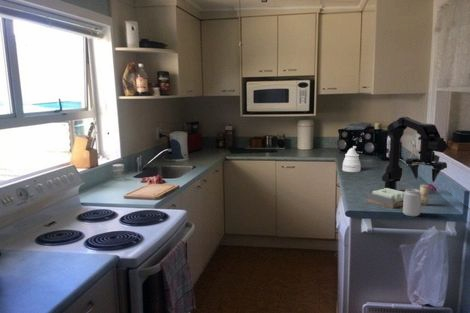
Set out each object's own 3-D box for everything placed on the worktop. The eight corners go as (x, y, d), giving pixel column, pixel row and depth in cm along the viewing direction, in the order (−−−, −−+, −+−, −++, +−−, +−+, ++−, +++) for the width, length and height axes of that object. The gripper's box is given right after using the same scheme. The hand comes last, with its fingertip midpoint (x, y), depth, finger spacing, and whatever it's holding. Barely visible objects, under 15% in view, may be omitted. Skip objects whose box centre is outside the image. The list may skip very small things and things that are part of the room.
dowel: (422, 203, 195) (423, 184, 194) (429, 204, 192) (430, 185, 190) (417, 204, 193) (418, 185, 192) (424, 206, 190) (425, 186, 188)
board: (390, 195, 211) (390, 187, 211) (416, 201, 198) (417, 193, 197) (366, 201, 201) (366, 192, 200) (392, 208, 188) (392, 199, 187)
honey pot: (358, 168, 286) (358, 145, 283) (362, 171, 273) (362, 147, 270) (341, 168, 287) (341, 145, 284) (344, 172, 275) (344, 147, 272)
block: (386, 195, 206) (386, 187, 205) (405, 199, 196) (405, 192, 196) (372, 198, 200) (372, 191, 199) (391, 203, 190) (391, 195, 190)
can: (415, 211, 182) (416, 187, 180) (423, 216, 174) (424, 191, 172) (399, 212, 181) (401, 188, 179) (407, 217, 174) (408, 192, 172)
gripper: (454, 150, 184) (452, 181, 187) (418, 146, 200) (417, 174, 202) (441, 152, 178) (439, 184, 181) (405, 148, 194) (404, 177, 197)
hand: (424, 179), depth 190 cm, fingers open, 9 cm apart
